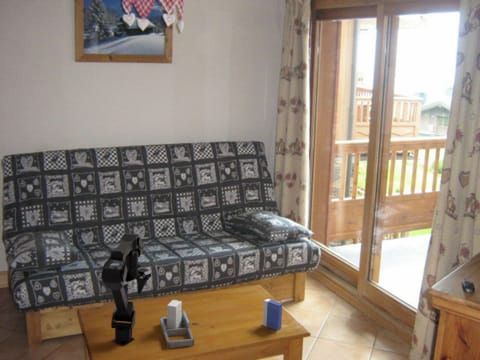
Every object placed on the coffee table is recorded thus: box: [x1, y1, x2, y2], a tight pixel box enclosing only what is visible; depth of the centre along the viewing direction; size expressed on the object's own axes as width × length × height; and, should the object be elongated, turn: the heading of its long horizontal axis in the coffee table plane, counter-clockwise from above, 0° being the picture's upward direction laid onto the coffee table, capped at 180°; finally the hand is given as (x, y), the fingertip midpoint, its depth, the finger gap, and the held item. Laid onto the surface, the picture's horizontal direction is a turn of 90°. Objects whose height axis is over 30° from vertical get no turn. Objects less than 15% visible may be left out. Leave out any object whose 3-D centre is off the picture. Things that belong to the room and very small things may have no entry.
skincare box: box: [166, 299, 183, 330], centre depth 246 cm, size 6×4×12 cm
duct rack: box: [159, 310, 195, 349], centre depth 242 cm, size 20×11×5 cm, turn 16°
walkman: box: [262, 298, 283, 331], centre depth 251 cm, size 8×3×12 cm, turn 54°
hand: (131, 297), depth 246 cm, fingers open, 9 cm apart
